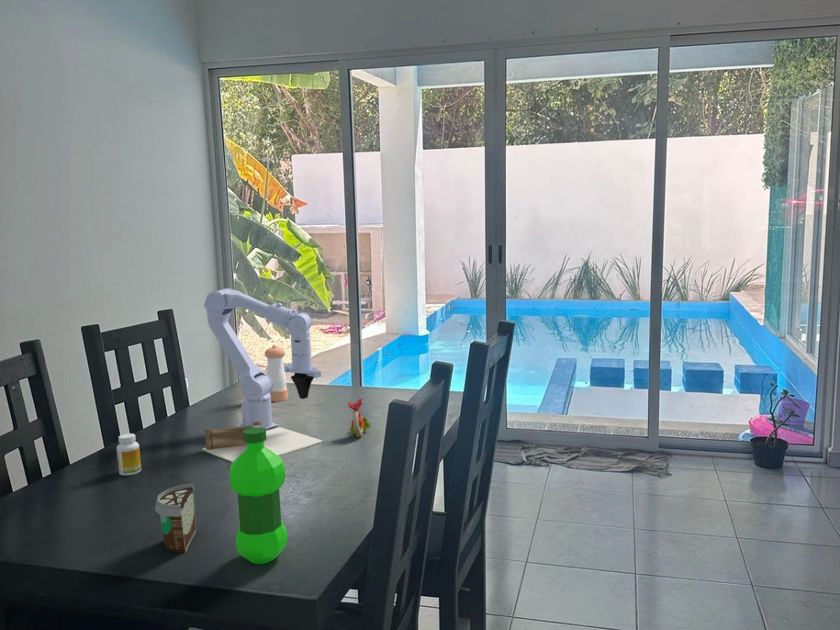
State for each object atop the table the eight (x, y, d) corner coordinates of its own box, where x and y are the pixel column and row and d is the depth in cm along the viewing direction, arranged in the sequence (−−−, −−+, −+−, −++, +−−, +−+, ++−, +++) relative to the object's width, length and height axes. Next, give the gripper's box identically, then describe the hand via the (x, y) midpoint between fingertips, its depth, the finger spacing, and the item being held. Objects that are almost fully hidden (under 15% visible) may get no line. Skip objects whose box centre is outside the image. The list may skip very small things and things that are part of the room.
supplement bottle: (146, 470, 188) (142, 433, 187) (129, 477, 184) (126, 439, 182) (130, 467, 191) (127, 431, 189) (114, 474, 186) (110, 437, 184)
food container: (167, 530, 152) (163, 484, 150) (197, 528, 152) (193, 482, 151) (150, 558, 140) (146, 508, 138) (183, 555, 140) (179, 506, 139)
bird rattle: (370, 444, 210) (371, 423, 218) (368, 414, 204) (368, 394, 212) (349, 445, 210) (350, 424, 218) (345, 415, 204) (347, 395, 212)
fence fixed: (206, 447, 203) (204, 427, 203) (261, 441, 207) (260, 421, 207) (206, 450, 202) (204, 429, 201) (262, 443, 206) (260, 423, 205)
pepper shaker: (263, 401, 253) (260, 347, 250) (271, 396, 260) (268, 343, 257) (283, 401, 252) (280, 347, 249) (291, 396, 259) (287, 343, 256)
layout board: (202, 450, 203) (202, 448, 203) (280, 428, 221) (280, 426, 221) (243, 467, 188) (243, 465, 188) (323, 442, 206) (323, 440, 206)
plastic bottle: (224, 566, 136) (214, 436, 132) (256, 541, 145) (247, 420, 142) (270, 574, 132) (261, 441, 128) (299, 548, 142) (292, 424, 138)
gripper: (275, 353, 219) (277, 397, 221) (307, 358, 209) (309, 404, 211) (293, 349, 224) (296, 392, 226) (325, 354, 215) (327, 399, 217)
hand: (303, 398), depth 219 cm, fingers closed
